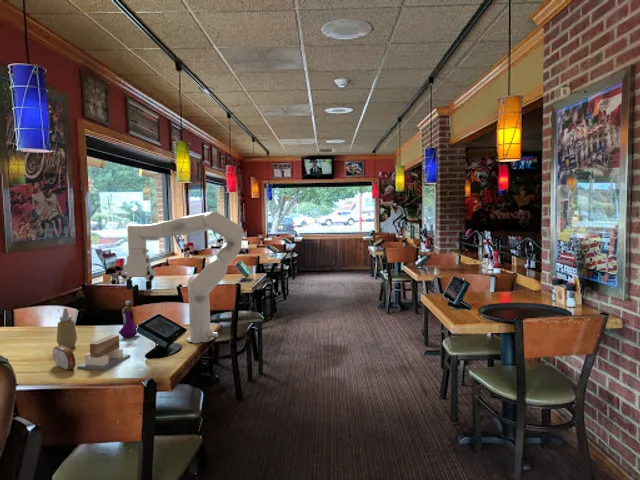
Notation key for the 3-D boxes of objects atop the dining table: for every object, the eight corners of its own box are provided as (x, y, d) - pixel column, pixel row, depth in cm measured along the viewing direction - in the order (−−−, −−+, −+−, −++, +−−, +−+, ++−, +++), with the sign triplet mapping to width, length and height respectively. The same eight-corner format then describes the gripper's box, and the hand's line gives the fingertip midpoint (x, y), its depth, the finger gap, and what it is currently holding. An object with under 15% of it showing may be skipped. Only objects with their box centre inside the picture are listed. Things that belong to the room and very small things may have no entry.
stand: (130, 356, 185) (129, 345, 184) (104, 370, 169) (103, 357, 169) (105, 355, 187) (104, 344, 187) (77, 368, 171) (76, 356, 171)
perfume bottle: (133, 338, 212) (132, 302, 211) (118, 339, 212) (117, 302, 211) (140, 334, 220) (139, 299, 219) (125, 334, 220) (124, 299, 219)
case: (119, 347, 184) (118, 335, 184) (98, 357, 171) (97, 344, 171) (112, 347, 185) (111, 334, 185) (90, 357, 172) (89, 343, 172)
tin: (76, 370, 169) (75, 349, 168) (67, 373, 167) (66, 351, 166) (61, 363, 178) (60, 342, 178) (52, 365, 176) (51, 344, 176)
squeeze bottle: (68, 350, 195) (66, 310, 194) (52, 349, 197) (50, 310, 196) (81, 345, 203) (79, 307, 202) (66, 344, 205) (64, 306, 204)
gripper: (159, 251, 198) (161, 288, 199) (125, 251, 202) (127, 287, 203) (150, 252, 191) (151, 291, 192) (115, 252, 195) (116, 290, 196)
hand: (139, 289), depth 198 cm, fingers open, 9 cm apart
